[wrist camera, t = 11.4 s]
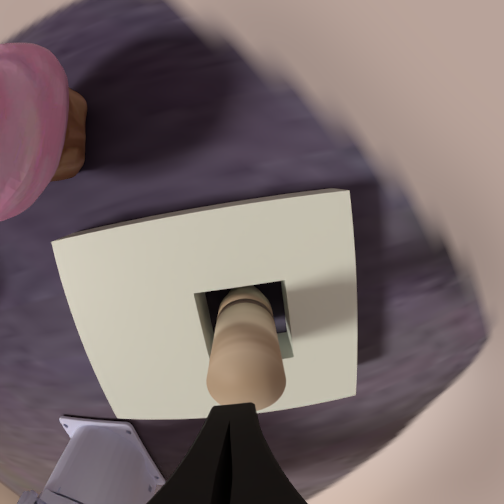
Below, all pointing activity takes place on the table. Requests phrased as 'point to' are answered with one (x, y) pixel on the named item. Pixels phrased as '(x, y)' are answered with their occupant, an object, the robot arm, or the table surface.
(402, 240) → the table surface
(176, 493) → the robot arm
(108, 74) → the table surface
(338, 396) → the board
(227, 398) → the peg
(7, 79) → the cupcake
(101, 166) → the table surface
